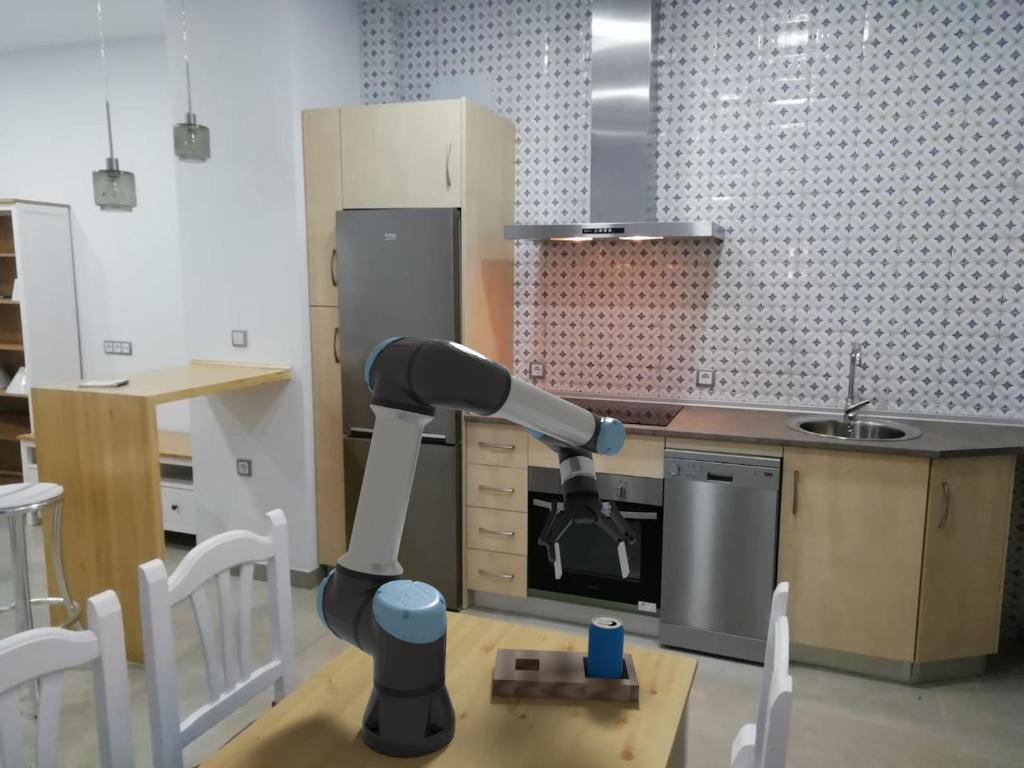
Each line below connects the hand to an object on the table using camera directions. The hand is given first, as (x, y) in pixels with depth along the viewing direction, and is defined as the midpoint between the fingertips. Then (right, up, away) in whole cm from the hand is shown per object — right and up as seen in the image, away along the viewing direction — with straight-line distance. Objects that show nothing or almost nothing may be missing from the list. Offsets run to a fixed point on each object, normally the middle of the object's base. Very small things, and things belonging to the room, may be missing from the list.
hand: (592, 575), depth 147 cm
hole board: (-6, -18, -8) cm, 20 cm away
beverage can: (+1, -18, -9) cm, 20 cm away
